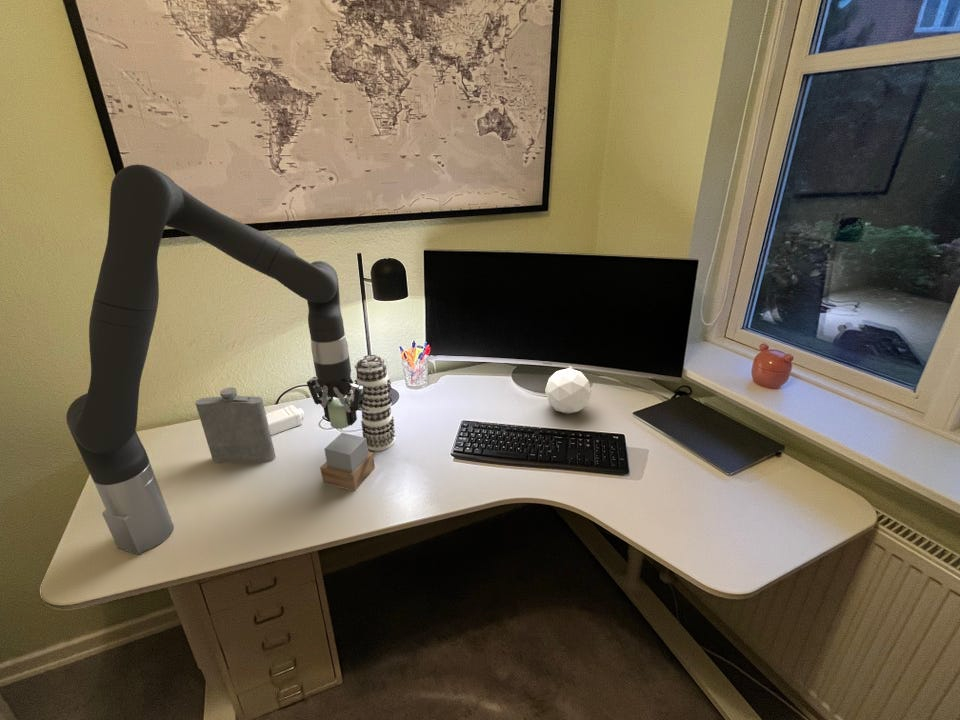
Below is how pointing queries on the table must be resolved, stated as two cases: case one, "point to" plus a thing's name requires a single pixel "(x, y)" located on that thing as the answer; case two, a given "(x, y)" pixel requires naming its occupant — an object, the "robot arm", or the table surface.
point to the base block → (348, 474)
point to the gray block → (346, 452)
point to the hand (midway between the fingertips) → (341, 421)
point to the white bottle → (284, 419)
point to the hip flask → (236, 427)
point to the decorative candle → (376, 402)
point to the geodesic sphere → (568, 390)
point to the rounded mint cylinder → (337, 414)
